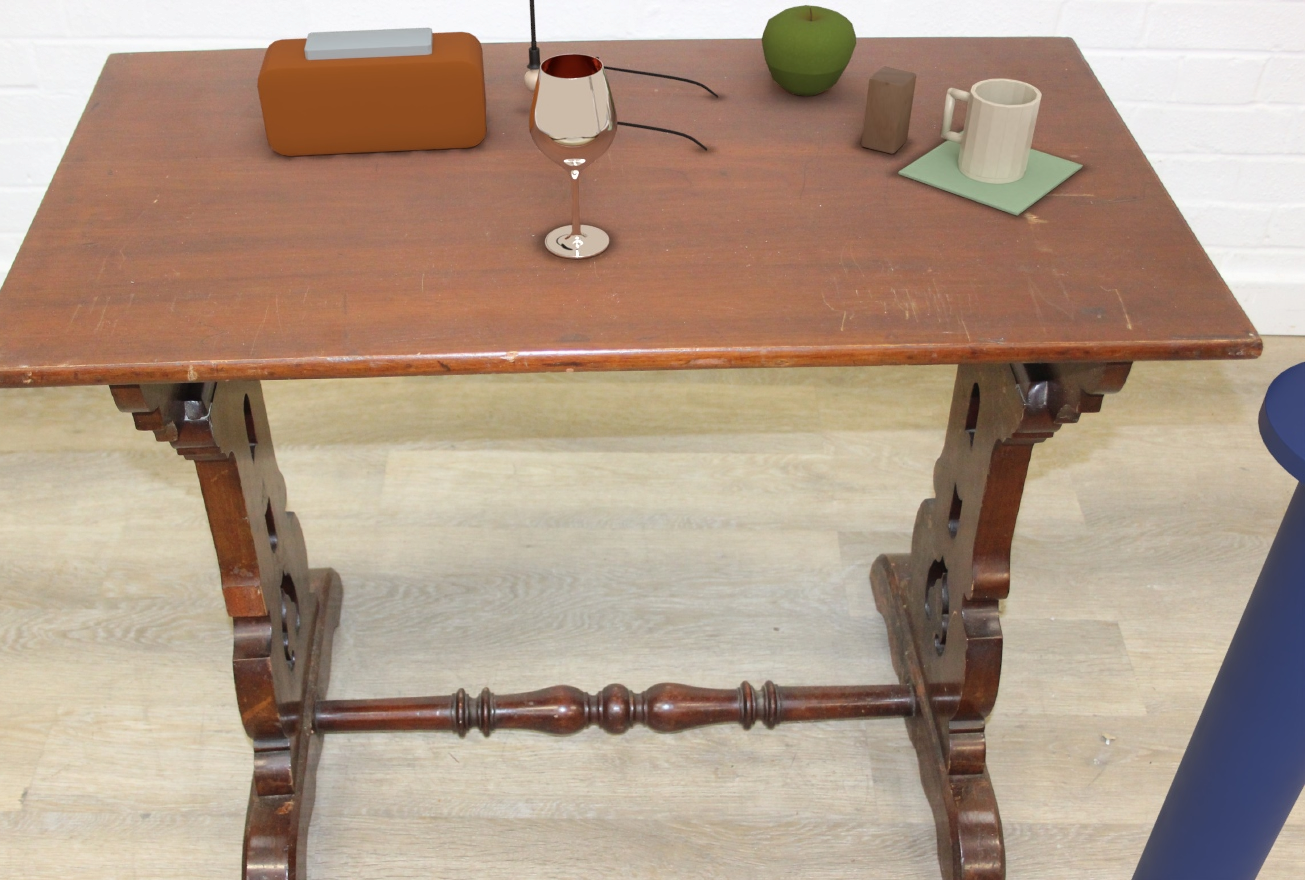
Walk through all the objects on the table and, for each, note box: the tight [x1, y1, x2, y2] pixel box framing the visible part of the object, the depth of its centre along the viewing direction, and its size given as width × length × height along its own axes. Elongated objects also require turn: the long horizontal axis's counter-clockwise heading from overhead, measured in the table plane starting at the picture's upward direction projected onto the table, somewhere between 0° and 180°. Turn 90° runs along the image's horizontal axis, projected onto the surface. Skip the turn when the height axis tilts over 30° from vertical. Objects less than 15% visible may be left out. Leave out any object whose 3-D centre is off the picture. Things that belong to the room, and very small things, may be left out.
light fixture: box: [523, 0, 542, 92], centre depth 148 cm, size 7×7×25 cm
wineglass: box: [528, 53, 618, 260], centre depth 126 cm, size 8×8×18 cm
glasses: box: [594, 56, 719, 151], centre depth 152 cm, size 14×15×5 cm
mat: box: [898, 130, 1084, 217], centre depth 142 cm, size 14×14×1 cm
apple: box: [761, 4, 857, 97], centre depth 155 cm, size 11×10×10 cm
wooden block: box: [861, 66, 917, 155], centre depth 144 cm, size 4×4×8 cm
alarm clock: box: [257, 27, 487, 157], centre depth 147 cm, size 24×8×11 cm, turn 94°
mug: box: [939, 78, 1043, 184], centre depth 140 cm, size 10×7×8 cm
